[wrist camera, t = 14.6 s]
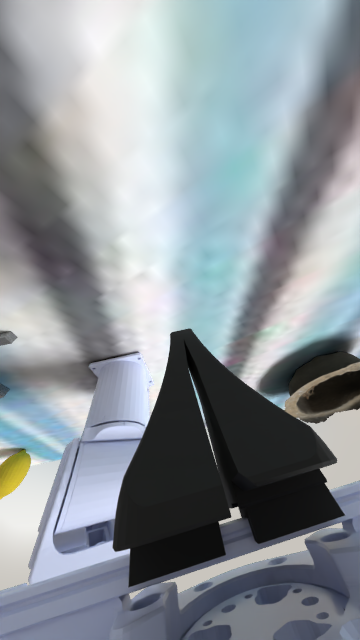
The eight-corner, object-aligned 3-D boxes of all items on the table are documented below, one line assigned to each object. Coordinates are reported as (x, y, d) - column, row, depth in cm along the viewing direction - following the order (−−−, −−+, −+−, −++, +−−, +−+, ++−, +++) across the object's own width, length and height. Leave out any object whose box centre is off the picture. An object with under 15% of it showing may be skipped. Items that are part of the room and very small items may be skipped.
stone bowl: (334, 383, 48) (365, 415, 40) (258, 396, 48) (276, 430, 40) (394, 326, 32) (462, 362, 25) (281, 346, 32) (316, 388, 25)
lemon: (12, 445, 34) (-18, 499, 27) (41, 445, 37) (19, 494, 30) (5, 453, 35) (-26, 506, 29) (33, 453, 38) (11, 501, 32)
